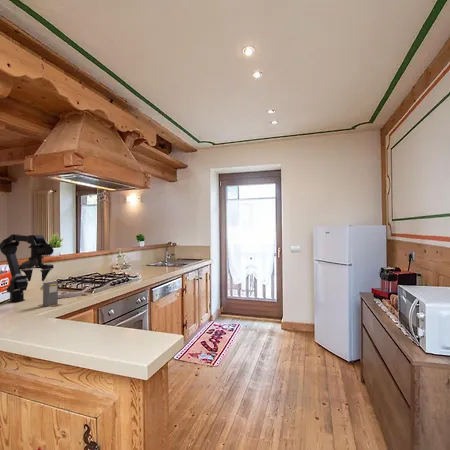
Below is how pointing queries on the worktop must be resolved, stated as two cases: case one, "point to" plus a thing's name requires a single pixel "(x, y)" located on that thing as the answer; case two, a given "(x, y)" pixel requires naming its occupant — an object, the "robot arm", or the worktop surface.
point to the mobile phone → (73, 293)
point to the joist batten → (52, 305)
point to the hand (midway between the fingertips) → (36, 281)
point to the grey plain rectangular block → (50, 293)
